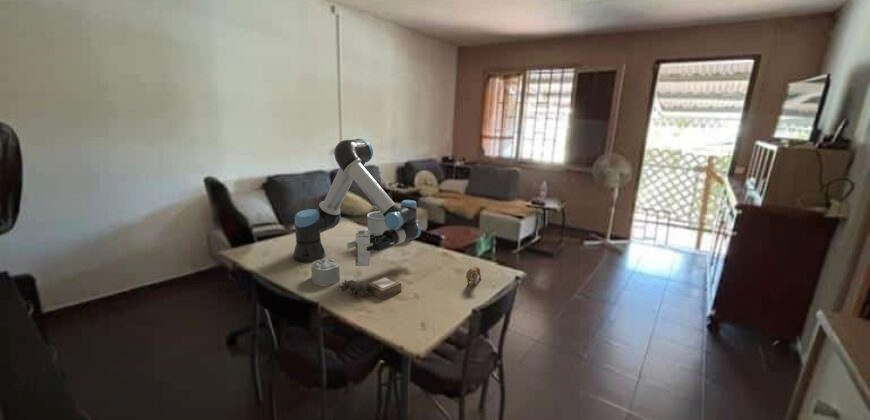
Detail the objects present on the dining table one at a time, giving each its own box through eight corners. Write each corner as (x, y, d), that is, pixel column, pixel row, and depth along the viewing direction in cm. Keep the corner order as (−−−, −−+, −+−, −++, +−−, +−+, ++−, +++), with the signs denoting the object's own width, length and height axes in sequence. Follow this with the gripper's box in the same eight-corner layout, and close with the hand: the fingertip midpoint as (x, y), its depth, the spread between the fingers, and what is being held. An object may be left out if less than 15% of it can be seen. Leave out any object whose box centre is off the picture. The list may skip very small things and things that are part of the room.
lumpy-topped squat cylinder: (321, 287, 160) (320, 268, 158) (306, 278, 169) (305, 259, 166) (343, 280, 167) (342, 262, 165) (327, 272, 176) (326, 254, 174)
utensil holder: (392, 249, 207) (392, 218, 203) (365, 248, 207) (364, 217, 203) (395, 240, 222) (395, 211, 217) (370, 240, 222) (369, 210, 217)
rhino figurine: (341, 290, 158) (341, 276, 157) (372, 294, 155) (371, 281, 153) (336, 294, 155) (336, 280, 153) (367, 299, 151) (367, 285, 149)
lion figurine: (476, 291, 159) (477, 271, 157) (464, 289, 161) (465, 269, 159) (482, 277, 173) (483, 259, 171) (470, 276, 174) (471, 257, 172)
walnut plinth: (366, 291, 157) (366, 282, 156) (385, 284, 164) (385, 275, 163) (382, 299, 150) (382, 290, 149) (401, 291, 158) (401, 282, 157)
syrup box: (356, 261, 170) (356, 230, 166) (370, 261, 170) (370, 230, 167) (355, 266, 164) (354, 234, 161) (369, 266, 165) (368, 234, 161)
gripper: (408, 249, 173) (369, 262, 156) (379, 239, 186) (339, 250, 169) (409, 233, 171) (369, 245, 154) (379, 224, 184) (339, 234, 167)
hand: (353, 247), depth 162 cm, fingers closed on syrup box, 8 cm apart
